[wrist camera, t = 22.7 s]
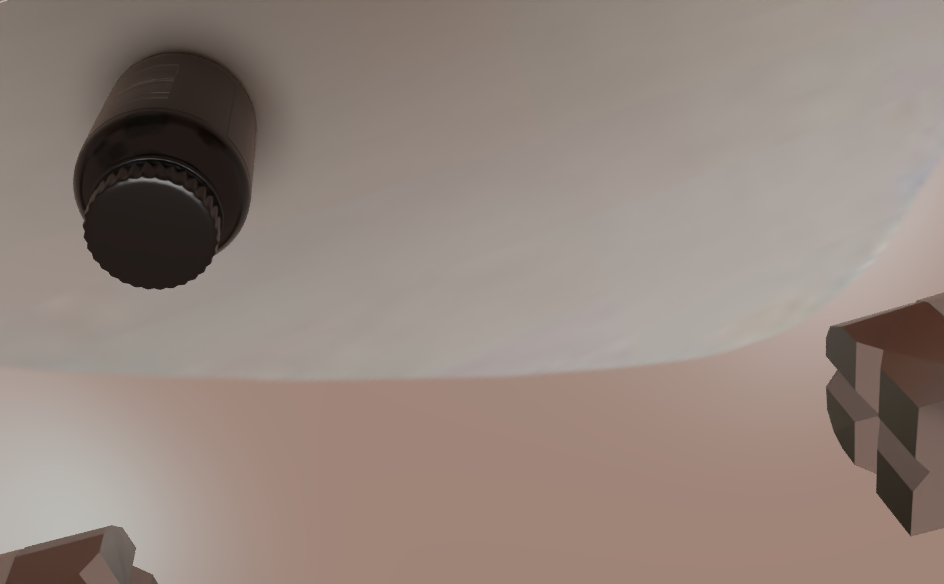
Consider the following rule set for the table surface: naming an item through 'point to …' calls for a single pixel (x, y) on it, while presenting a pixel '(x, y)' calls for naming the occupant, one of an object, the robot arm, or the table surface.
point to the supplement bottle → (166, 170)
